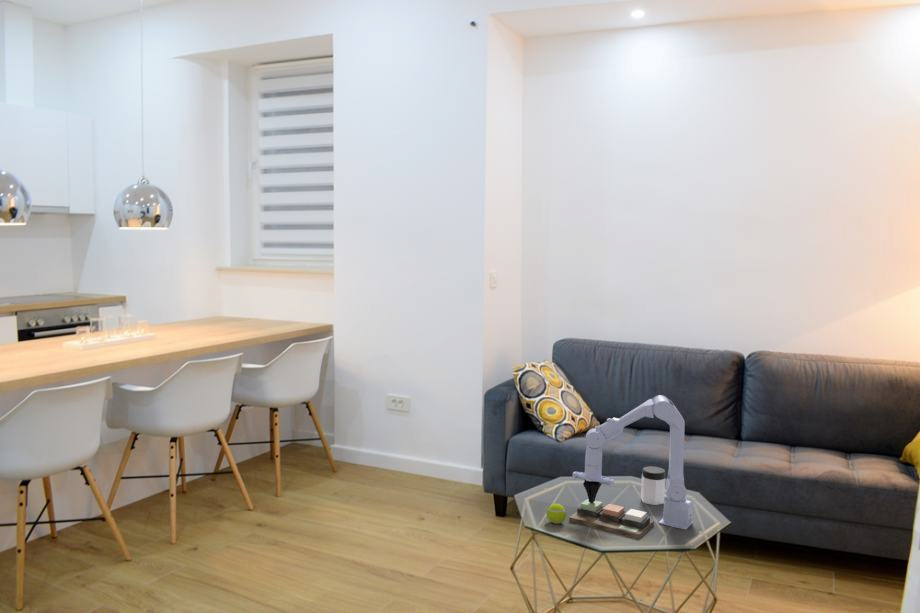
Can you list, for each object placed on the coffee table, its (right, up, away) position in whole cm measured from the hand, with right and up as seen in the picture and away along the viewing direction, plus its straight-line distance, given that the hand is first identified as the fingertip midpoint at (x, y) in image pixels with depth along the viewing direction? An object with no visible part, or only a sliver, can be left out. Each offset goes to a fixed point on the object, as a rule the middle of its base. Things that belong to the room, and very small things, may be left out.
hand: (591, 501), depth 271 cm
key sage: (0, -2, 0) cm, 2 cm away
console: (+6, -6, -5) cm, 10 cm away
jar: (+25, -4, +17) cm, 31 cm away
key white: (+13, -4, -8) cm, 16 cm away
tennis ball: (-13, -6, -6) cm, 16 cm away
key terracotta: (+7, -3, -4) cm, 8 cm away
